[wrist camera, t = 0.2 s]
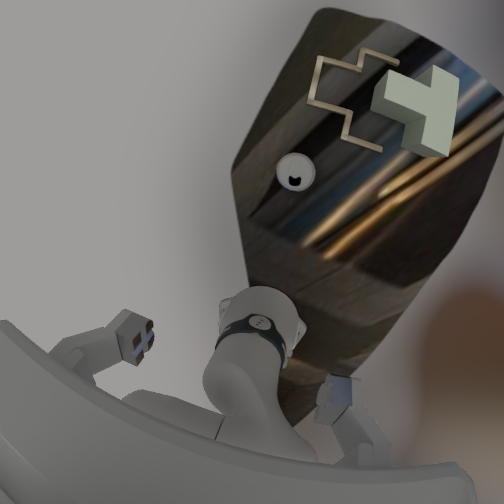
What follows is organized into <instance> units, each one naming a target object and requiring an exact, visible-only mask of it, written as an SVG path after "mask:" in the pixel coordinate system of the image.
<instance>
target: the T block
mask: <svg viewBox="0 0 504 504" xmlns="http://www.w3.org/2000/svg"><path fill="white" fill-rule="evenodd" d="M458 88H459V78H457V77H455V76H453V75H452V74H450V73H448V72H446V71H444V70H442V69H441V68H439V67H437V66H435V65H432V66H431V67H430V68H428V69H427V70H426V71H424V72H423V73H422V74H421V75H419V76H418V77H417V78H416V79H414V80H413V79H410V78H408V77H406V76H404V75H401V74H399V73H396V72H394V71H391V70H388V71H387V73H386V74H385V75H384V76H383V77H382V79H381V80H380V81H379V82H378V83H377V85H376V86H375V89H374V94H373V99H372V104H371V108H370V111H373V112H376V113H378V114H381V115H384V116H386V117H389V118H391V119H394V120H396V121H399V122H401V123H404V124H405V129H404V134H403V138H402V143H401V147H402V148H404V149H407V150H409V151H412V152H414V153H416V154H418V155H421V156H423V157H448V155H449V150H450V145H451V139H452V134H453V128H454V122H455V115H456V107H457V99H458Z"/></svg>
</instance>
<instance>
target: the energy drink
mask: <svg viewBox="0 0 504 504" xmlns="http://www.w3.org/2000/svg"><path fill="white" fill-rule="evenodd" d="M276 176H277V179H278V182H279V183H280V184H281V185H282V186H283V187H284V188H285V189H287V190H289V191H293V192H299V191H303V190H305V189H307V188H308V187H309V186H310V185H311V184H312V183H313V181H314V178H315V167H314V165H313V163H312V161H311V160H310V159H309V158H308V157H307V156H305V155H303V154H300V153H290V154H287V155H285V156H284V157H282V158H281V159H280V161H279V162H278V164H277V167H276Z"/></svg>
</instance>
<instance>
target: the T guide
mask: <svg viewBox="0 0 504 504" xmlns="http://www.w3.org/2000/svg"><path fill="white" fill-rule="evenodd" d="M365 55H366V56H369V57H372V58H375V59H378V60H381V61H383V62H386V63H389V64H391V65H394V66H396V67H397V66H398V65H399V60H397V59H394V58H392V57H389V56H386V55H384V54H381V53H378V52H375V51H372V50H369V49H366V48H363V47H360V50H359V55H358V60H357V65H356V66H355V65H352V64H349V63H345V62H342V61H338V60H334V59H331V58H327V57H323V56H318V58H317V62H316V67H315V71H314V75H313V79H312V83H311V88H310V92H309V96H308V100H307V105H309V106H313V107H317V108H320V109H324V110H328V111H331V112H334V113H338V114H341V115H344V116H346V117H345V121H344V125H343V129H342V133H341V137H340V139H341V140H344V141H347V142H350V143H353V144H356V145H359V146H362V147H365V148H368V149H371V150H373V151H376V152H379V153H382V149H383V147H381V146H378V145H375V144H373V143H370V142H367V141H364V140H361V139H358V138H355V137H352V136H349V135H348V132H349V127H350V123H351V119H352V115H353V111H351V110H348V109H344V108H341V107H338V106H334V105H331V104H327V103H324V102H320V101H316V100H314V98H315V93H316V89H317V85H318V81H319V77H320V72H321V68H322V64H326V65H330V66H334V67H338V68H341V69H345V70H348V71H351V72H355V73H358V74H361V72H362V67H363V62H364V56H365Z"/></svg>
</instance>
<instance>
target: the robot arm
mask: <svg viewBox="0 0 504 504" xmlns="http://www.w3.org/2000/svg"><path fill="white" fill-rule="evenodd" d="M224 309H225V310H224ZM218 326H219V333H220V336H219V338H218V340H217V344H216V346H215V352H214V354H213V356H212V358H211V360H210V361H209V363H208V365H207V367H206V369H205V371H204V374H203V387H204V390H205V392H206V394H207V396H208V398H209V400H210V402H211V403H212V404H213V405H214V406H215V407H216V408H217V409H218V410H219V411H220V412H221V413H223V415H222V414H218V413H215V412H213V411H210V410H207V409H204V408H201V407H199V406H196V405H194V404H191V403H188V402H186V401H183V400H181V399H178V398H176V397H172V396H168V395H163V394H159V393H155V392H150V391H146V390H137V391H134V392H132V393H130V394H128V395H127V396H126V397H124V398H123V399H122V400H120V399H118V398H116V397H114V396H112V395H110V394H108V393H107V392H105V391H103V390H102V389H100V388H98V387H97V386H96V382H95V380H94V378H93V374H96V373H98V372H100V371H102V370H104V369H106V368H108V367H110V366H112V365H115V364H117V363H119V362H121V361H122V360H124V361H126V362H128V363H131V364H133V365H135V366H138V365H139V363H140V362H141V361H142V359H143V358H144V353H145V352H147V351H149V350H150V348H151V347H152V345H153V342H154V332H153V331H152V328H153V321H152V320H150V319H148V318H145V317H143V316H141V315H138V314H136V313H134V312H131V311H129V310H127V309H124V310H122V311H121V312H120V313H119V314H118V315H117V316H116V317H115V318H114V319H113V320H112V321H111V322H110V323H109V324H108V325H107V326H106V327H105V328H104V327H101V328H98V329H94V330H91V331H88V332H84V333H81V334H77V335H74V336H70V337H67V338H64V339H62V340H61V341H60V342H59V343H58V344H57V345H56V346H55V347H54V348H53V349H52V350H51V351H50V352H49V353H46V352H45V351H44V350H42V349H41V348H40V347H39V346H38V345H36V344H35V343H34V342H32V341H31V340H30V339H29V338H28V337H26V336H25V335H24V334H23V333H22V332H21V331H20V330H18V329H17V328H16V327H15V326H14V325H13V324H12V323H10V322H9V321H7V320H1V321H0V504H478V503H477V496H476V489H475V485H474V482H473V480H472V479H471V477H470V476H469V475H468V474H467V473H466V471H465V470H464V469H463V468H462V467H461V466H460V465H459V464H457V463H456V462H446V463H439V464H431V465H420V466H407V467H392V447H391V443H390V441H389V440H388V439H387V437H386V435H385V434H384V433H383V431H382V430H381V428H380V427H379V426H378V424H377V423H376V421H375V420H374V419H373V417H372V416H371V414H370V413H369V412H368V410H367V409H366V408H363V392H362V391H363V390H362V380H361V379H358V378H352V377H348V376H342V375H336V374H331V373H329V374H328V375H327V377H326V381H325V383H323V384H322V385H321V387H320V389H319V391H318V394H317V400H316V403H317V405H318V408H317V409H316V411H315V419H314V423H318V424H323V425H329V426H331V427H332V429H333V431H334V434H335V435H336V438H337V440H338V442H339V444H340V446H341V448H342V450H343V452H344V454H345V457H343V458H342V459H341V460H340V461H338V462H337V463H336V464H335V465H330V464H321V463H319V462H318V457H317V454H316V452H315V450H314V448H313V447H312V445H311V444H310V443H309V442H308V441H306V440H305V439H304V438H302V437H301V436H300V435H299V434H298V433H297V432H296V431H295V430H294V429H293V428H292V427H291V425H290V424H289V423H288V421H287V420H286V418H285V416H284V415H283V413H282V411H281V408H280V406H279V403H278V399H277V385H278V377H279V373H280V371H281V370H282V368H283V369H284V368H285V367H286V365H287V363H288V359H287V357H291V356H292V354H293V351H292V350H293V349H294V348H295V346H296V345H297V343H298V342H299V341H300V339H301V338H302V336H303V335H304V334H305V332H306V329H307V327H306V325H305V323H304V322H303V321H302V320H301V319H300V318H299V316H298V313H297V310H296V308H295V305H294V304H293V302H292V301H291V300H290V299H289V298H288V297H287V296H286V295H285V294H284V293H282V292H280V291H279V290H276V289H274V288H271V287H266V286H255V287H250V288H247V289H245V290H243V291H241V292H240V293H238V294H237V295H236V296H234V297H232V298H227V299H224V300H222V301H221V303H220V321H219V323H218ZM298 332H299V333H298Z"/></svg>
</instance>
